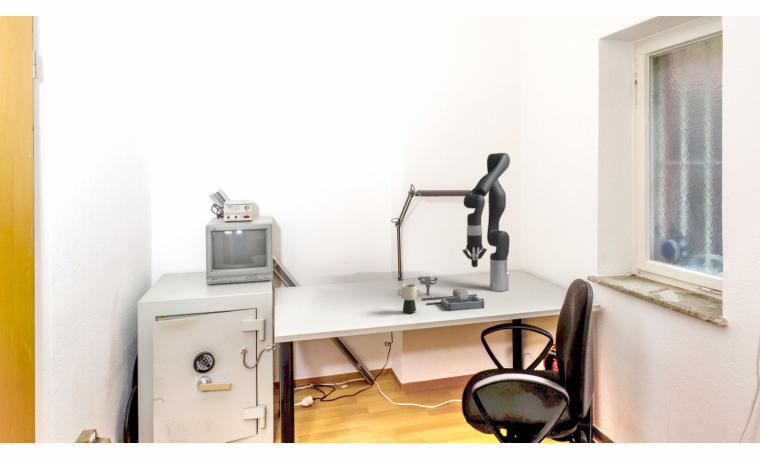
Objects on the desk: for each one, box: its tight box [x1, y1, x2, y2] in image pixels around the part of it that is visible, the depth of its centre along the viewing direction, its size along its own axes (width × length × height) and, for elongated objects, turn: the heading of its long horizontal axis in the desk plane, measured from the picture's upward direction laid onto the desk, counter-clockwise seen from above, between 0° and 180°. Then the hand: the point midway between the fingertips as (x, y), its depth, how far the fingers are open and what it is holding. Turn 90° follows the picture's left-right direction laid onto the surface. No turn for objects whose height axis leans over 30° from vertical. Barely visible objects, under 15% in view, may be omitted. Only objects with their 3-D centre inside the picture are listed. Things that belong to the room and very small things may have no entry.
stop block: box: [457, 288, 469, 303], centre depth 205 cm, size 4×4×7 cm
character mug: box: [397, 283, 422, 314], centre depth 199 cm, size 11×7×13 cm, turn 92°
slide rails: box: [421, 293, 485, 306], centre depth 217 cm, size 30×10×1 cm, turn 100°
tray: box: [440, 295, 485, 312], centre depth 206 cm, size 18×11×4 cm, turn 100°
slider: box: [452, 288, 465, 297], centre depth 217 cm, size 6×5×5 cm
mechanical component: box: [417, 275, 438, 296], centre depth 228 cm, size 3×10×10 cm, turn 78°
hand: (474, 267), depth 217 cm, fingers closed
